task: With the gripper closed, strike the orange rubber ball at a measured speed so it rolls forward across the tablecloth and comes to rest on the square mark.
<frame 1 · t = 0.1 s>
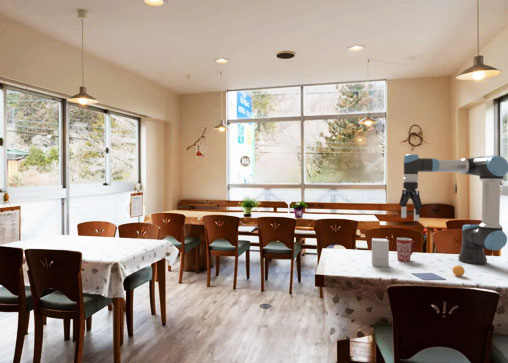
hand: (409, 219, 205), 28 cm above the table, tool pointing down, fingers open, 13 cm apart
ball: (458, 270, 190), on the table
mug: (406, 260, 225), on the table
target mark: (428, 276, 189), on the table
supplement box: (379, 265, 213), on the table
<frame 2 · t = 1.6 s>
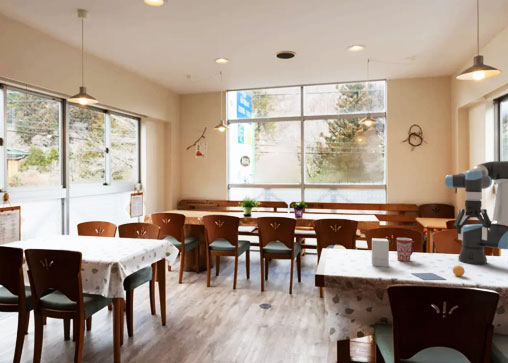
hand: (472, 239, 192), 19 cm above the table, tool pointing down, fingers open, 13 cm apart
nothing on the table moved.
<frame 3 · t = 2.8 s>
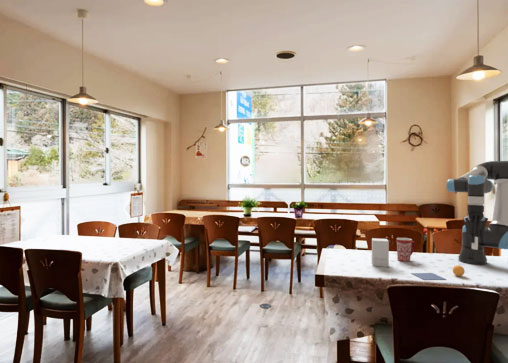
hand: (474, 249, 191), 14 cm above the table, tool pointing down, fingers closed
nothing on the table moved.
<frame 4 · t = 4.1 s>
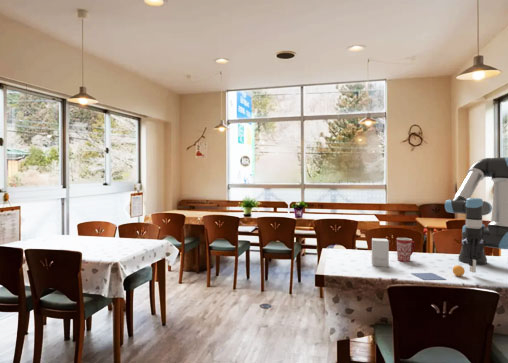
hand: (472, 271, 191), 2 cm above the table, tool pointing down, fingers closed
nothing on the table moved.
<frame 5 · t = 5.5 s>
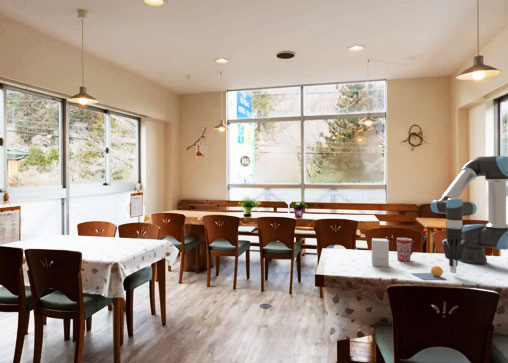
hand: (453, 272, 190), 2 cm above the table, tool pointing down, fingers closed
ball: (436, 271, 189), on the table
everything else where it was.
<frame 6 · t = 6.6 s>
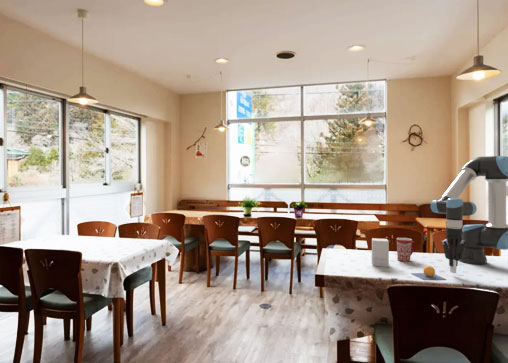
hand: (453, 272, 190), 2 cm above the table, tool pointing down, fingers closed
ball: (429, 271, 188), on the table
everything else where it was.
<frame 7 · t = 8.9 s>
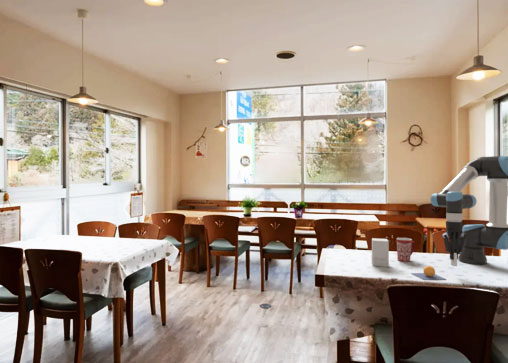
hand: (454, 265, 190), 5 cm above the table, tool pointing down, fingers closed
nothing on the table moved.
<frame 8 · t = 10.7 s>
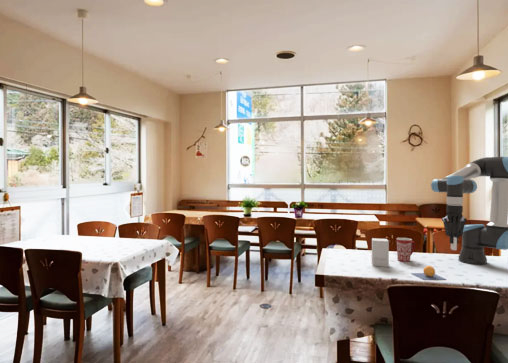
hand: (453, 249, 190), 14 cm above the table, tool pointing down, fingers closed
nothing on the table moved.
at the end: ball 0.5 cm from the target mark (horizontally); ball at rest at the end (0.0 cm/s); ball moved 16.5 cm from its start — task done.
